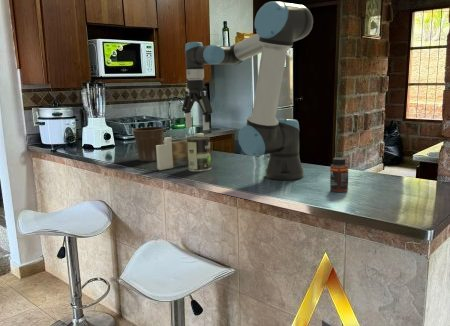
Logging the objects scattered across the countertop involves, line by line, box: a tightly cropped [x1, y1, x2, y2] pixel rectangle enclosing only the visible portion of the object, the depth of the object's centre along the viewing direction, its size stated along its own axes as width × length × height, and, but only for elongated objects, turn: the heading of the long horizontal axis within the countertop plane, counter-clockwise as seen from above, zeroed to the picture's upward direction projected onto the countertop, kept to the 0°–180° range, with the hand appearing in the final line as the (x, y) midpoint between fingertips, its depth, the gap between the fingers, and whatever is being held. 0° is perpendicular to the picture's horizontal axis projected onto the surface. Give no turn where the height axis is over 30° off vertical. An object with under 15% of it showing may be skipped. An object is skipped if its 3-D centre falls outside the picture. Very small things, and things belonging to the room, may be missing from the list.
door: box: [172, 139, 188, 167], centre depth 198 cm, size 13×3×11 cm, turn 128°
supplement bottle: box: [329, 157, 349, 193], centre depth 143 cm, size 6×6×11 cm
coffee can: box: [186, 136, 212, 172], centre depth 187 cm, size 10×10×14 cm
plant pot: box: [131, 126, 165, 163], centre depth 215 cm, size 16×16×16 cm
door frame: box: [156, 132, 205, 171], centre depth 197 cm, size 2×28×14 cm, turn 128°
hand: (197, 128), depth 185 cm, fingers open, 13 cm apart
